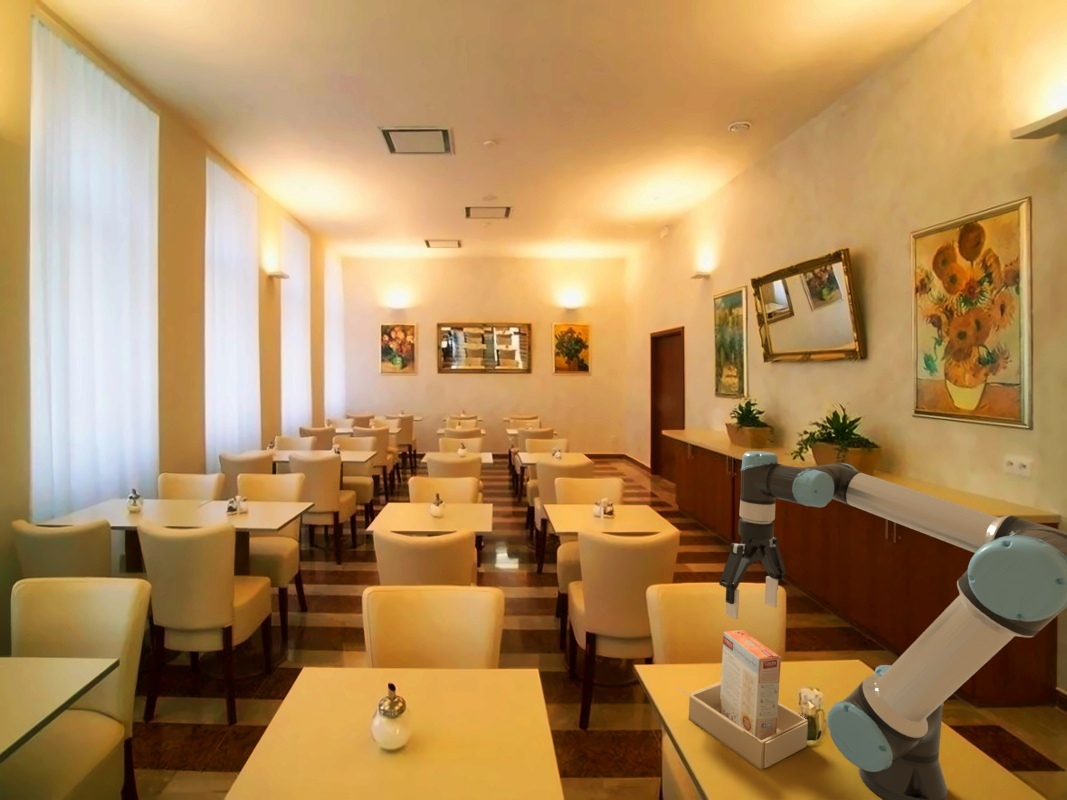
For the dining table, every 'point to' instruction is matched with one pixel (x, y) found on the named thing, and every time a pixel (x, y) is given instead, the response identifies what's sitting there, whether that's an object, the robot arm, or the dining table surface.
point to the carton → (755, 752)
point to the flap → (718, 714)
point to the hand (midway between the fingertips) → (751, 611)
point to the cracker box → (749, 684)
